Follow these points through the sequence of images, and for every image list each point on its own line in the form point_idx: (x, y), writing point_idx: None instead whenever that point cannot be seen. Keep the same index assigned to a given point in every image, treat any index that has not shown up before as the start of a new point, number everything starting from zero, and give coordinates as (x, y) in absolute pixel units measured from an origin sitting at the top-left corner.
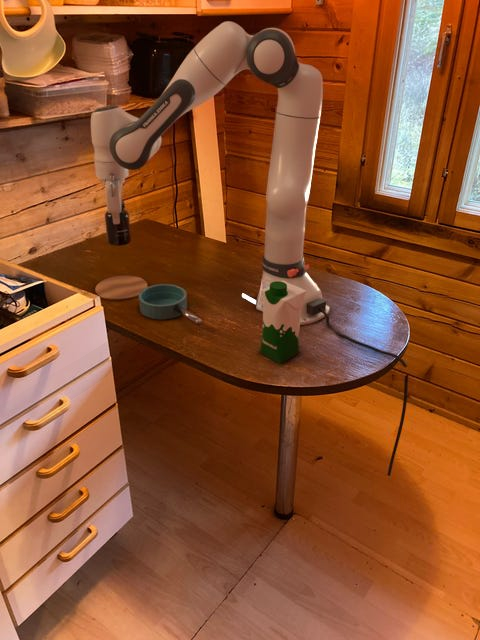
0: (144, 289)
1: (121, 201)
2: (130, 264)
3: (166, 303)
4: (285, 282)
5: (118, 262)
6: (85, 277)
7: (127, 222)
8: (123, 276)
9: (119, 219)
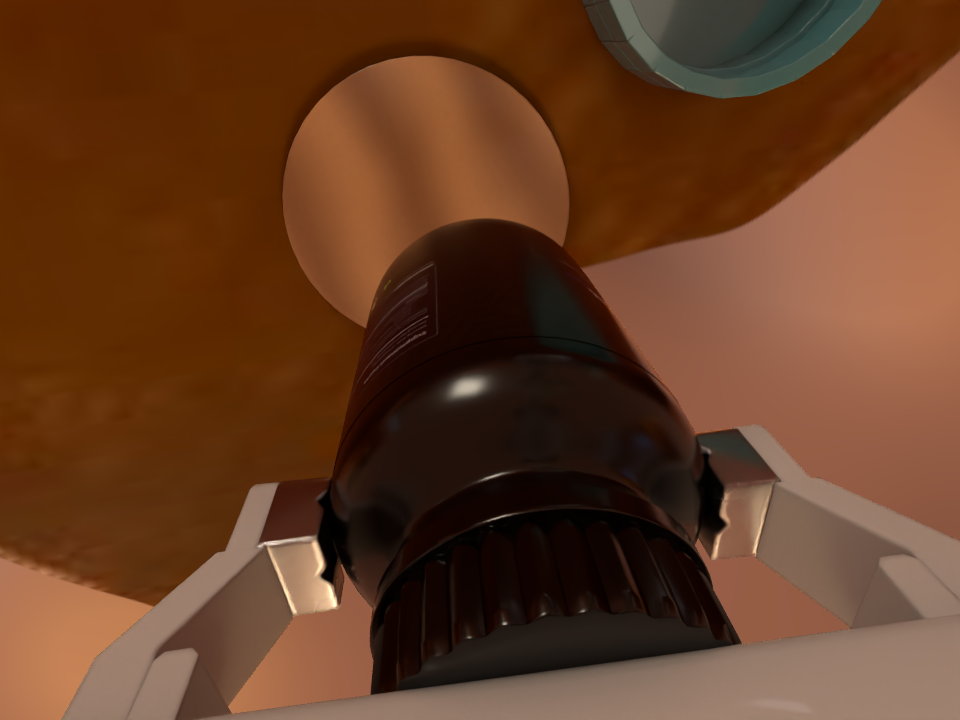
0: (655, 61)
1: (861, 718)
2: (92, 197)
3: None
4: None
5: (81, 272)
6: (307, 400)
7: (599, 321)
8: (299, 221)
9: (792, 458)
